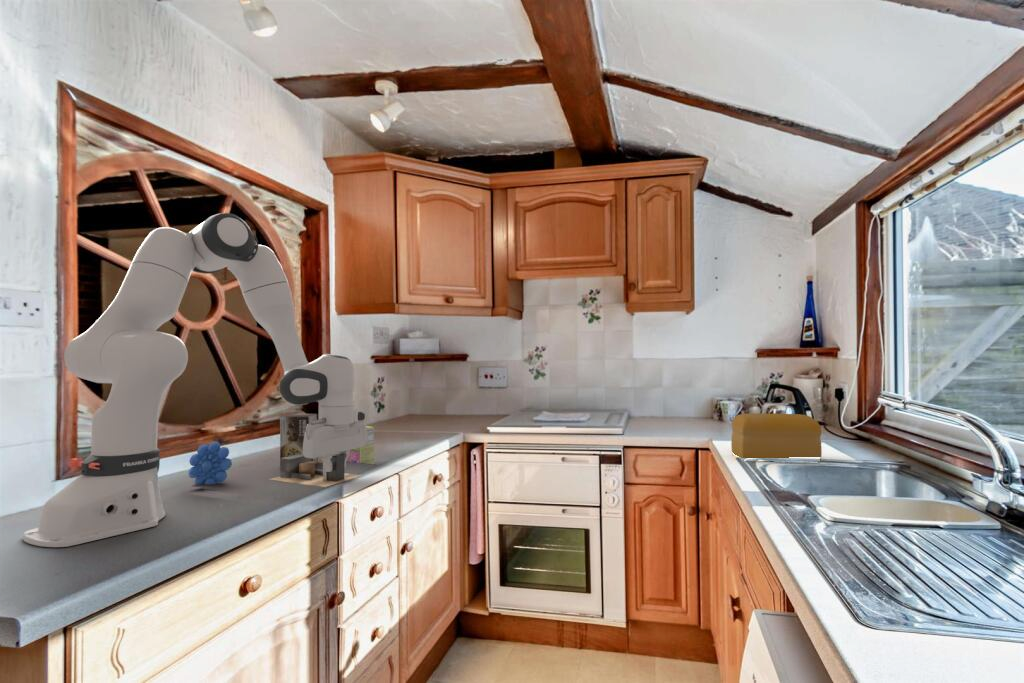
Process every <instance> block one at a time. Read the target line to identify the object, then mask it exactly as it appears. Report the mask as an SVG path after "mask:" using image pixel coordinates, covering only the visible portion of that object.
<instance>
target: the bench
mask: <svg viewBox="0 0 1024 683" xmlns="http://www.w3.org/2000/svg"><path fill="white" fill-rule="evenodd" d="M309 461H310V462H312V458H306V457H304V455H303V453H302V454H298V455H293V456H289V457H284V458H281V461H280V460H279V466H280V470H279V471H280V472H279V475H280V476H277V477H272V478H268V480H269V481H275V482H277V481H278V482H283V483H284V482H285V483H291V484H298V485H306V486H312V487H313V486H314V487H321V488H327V487H330V486H334V485H336V484H340V483H343V482H345V481H350V480H352V479H355V478H359V477H362V476H363V475H362V474H354V473H348V472H347V473H346V472H344V479H343V480H340V481H337V482H335V481H328V480H327V481H325V480H323V469H318V468H317V469H316V468H315V476H314V477H311V475H309V474H301V473H299V463H301V462H309Z"/></svg>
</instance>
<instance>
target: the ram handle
mask: <svg viewBox="0 0 1024 683" xmlns="http://www.w3.org/2000/svg"><path fill="white" fill-rule="evenodd" d="M330 460H331V462H332V464H334V471H331V472H326V471H325V464H324V462H322V470H323V480H325V481H327V480H328V481H335V482H337V481H340V480H343V479H344V473H345V468H344V465H345V454H338V453H335V454H332V458H331V459H330Z"/></svg>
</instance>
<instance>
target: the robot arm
mask: <svg viewBox="0 0 1024 683" xmlns="http://www.w3.org/2000/svg"><path fill="white" fill-rule="evenodd" d="M130 263H131V264H130V266H129V268H128V270H127V272H126V275H125V277H124V278H123V281H122V283H121V286H120V288H119V290H118V293H117V294H116V296H115V297H114V299H113V301H111V303H110V305H108V307H107V308H106V309H105V310H104V312H103V313H102V314H101V315H100V317H98V319H96V320H95V322H94V323H93V324H92V325H91V326H90V327H89V328H88V329H87V330H86V331H84V332H83V333H81V334H79V335H78V336H76V337H75V338H73V339H71V341H70V342H69V343H68V344H67V345H66V348H65V350H64V353H63V356H64V357H63V361H64V365H65V367H66V368H67V370H68V372H70V374H72V375H73V376H75V377H76V378H80V379H83V380H87V381H90V382H93V383H96V384H111V389H110V392H109V395H108V397H107V399H106V401H105V402H104V404H103V405H101V406H100V407H99V408H98V409H96V410H95V412H94V413H93V415H92V418H91V438H90V439H91V440H90V441H91V442H90V445H91V446H90V447H91V448H90V450H91V451H90V453H89V454H88V456H87V457H86V458H84V459H83V458H77V457H73V458H70V459H69V461H68V462H67V465H68V467H69V468H70V469H75V470H80V469H81V470H80V475H79V476H77V477H76V478H75V479H73V481H71V482H70V483H68V484H67V485H66V486H64V488H62V489H61V490H59V492H57V493H56V494H54V495H52V497H50V498H49V499H48V500H47V501H46V502H45V503H44V505H43V507H42V509H41V513H40V517H39V523H38V527H35V528H31V529H28V530H25V531H24V532H23V534H22V540H23V542H24V543H27V544H30V545H32V546H33V545H34V546H38V547H43V548H44V547H46V548H65V547H72V546H76V545H81V544H85V543H89V542H93V541H97V540H102V539H106V538H109V537H114V536H119V535H123V534H127V533H132V532H135V531H140V530H144V529H148V528H153V527H156V526H158V525H159V521H160V520H162V519H163V518H164V517H165V516H166V512H165V509H164V506H163V502H162V499H161V498H162V497H161V492H160V485H159V476H158V473H159V470H160V463H161V462H160V461H161V460H160V459H161V458H160V457H161V456H160V449H159V448H158V433H159V431H158V430H159V417H160V415H159V414H160V410H161V406H162V403H163V400H164V397H165V395H166V394H167V391H168V389H169V387H170V386H171V384H173V382H174V381H175V380H177V379H178V378H179V377H180V376H182V374H183V373H184V371H185V370H186V368H187V366H188V360H189V354H188V353H189V352H188V349H187V347H186V344H185V343H184V342H183V340H181V338H179V337H178V336H176V335H173V334H170V333H166V332H163V331H158V329H159V328H160V327H162V325H164V324H165V323H167V322H169V321H170V320H171V319H173V318H174V317H175V316H176V314H177V312H178V311H179V308H180V304H181V302H182V300H183V297H184V295H185V292H186V290H187V286H188V284H189V281H190V277H191V274H192V273H193V272H194V273H199V274H203V275H204V274H206V275H207V274H214V273H217V272H220V271H221V270H223V269H224V268H227V271H228V270H229V272H231V273H232V274H233V276H234V277H235V278H236V280H237V282H238V284H239V288H240V290H241V293H242V294H241V295H242V297H243V299H244V302H245V305H246V306H247V307H248V310H249V312H250V313H251V315H252V317H253V318H254V320H255V321H256V322H257V323H258V324H259V325H260V326H261V327H262V328H263V330H265V331H266V333H267V334H268V335H269V336H270V338H271V340H272V342H273V344H274V346H275V350H276V352H277V355H278V357H279V360H280V362H281V365H282V368H283V376H282V377H281V378H280V382H279V393H280V395H281V398H283V399H284V400H285V401H286V402H288V403H289V404H291V405H296V406H305V405H308V404H309V403H310V404H311V403H315V402H317V403H318V420H312V421H310V423H309V424H308V425H307V426H306V431H305V435H304V441H303V455H304V457H306V458H318V459H319V458H321V460H322V463H324V464H325V471H326V472H331V471H334V464H332V462H331V460H330V459H331V458H332V454H335V453H339V452H340V454H345V465H344V469H345V468H347V462H348V461H347V459H348V456H349V454H350V450H351V449H356V448H360V447H363V446H364V445H365V443H366V439H367V427H366V426H367V423H366V420H367V419H368V417H367V416H368V415H367V412H365V411H363V410H359V409H357V408H355V402H354V397H353V396H354V391H355V371H354V370H355V368H354V364H353V361H352V360H350V359H349V358H348V357H346V356H344V355H343V356H342V355H338V354H337V355H336V354H332V353H323V354H322V355H321V356H319V357H318V358H317V359H316V358H315V359H314V360H313V361H311V362H309V361H308V359H307V357H306V354H305V352H304V348H303V346H302V344H301V341H300V337H299V335H298V332H297V326H296V313H295V305H294V304H295V303H294V298H293V294H292V289H291V287H290V284H289V281H288V278H287V275H286V274H285V271H284V269H283V267H282V264H281V263H280V261H279V259H278V257H277V255H276V254H275V252H274V251H273V250H272V249H271V248H270V247H268V246H266V245H262V244H259V240H258V237H257V236H256V235H255V234H254V233H253V231H252V229H251V228H250V226H249V225H248V223H247V222H246V221H245V220H243V219H242V218H241V217H239V215H237V214H234V213H229V212H220V213H216V214H214V215H211V216H209V217H208V218H206V219H205V220H204V221H203V222H201V223H200V224H197V225H196V226H195V227H194V228H192V229H191V230H190V231H189V232H184V231H181V230H179V229H176V228H173V227H158V228H157V227H156V228H154V229H153V230H151V231H150V232H149V233H148V235H147V236H146V237H145V238H144V241H143V242H142V243H141V245H140V246H139V248H138V249H137V251H136V253H135V255H134V256H133V259H132V261H131V262H130ZM310 424H311V425H310Z"/></svg>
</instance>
